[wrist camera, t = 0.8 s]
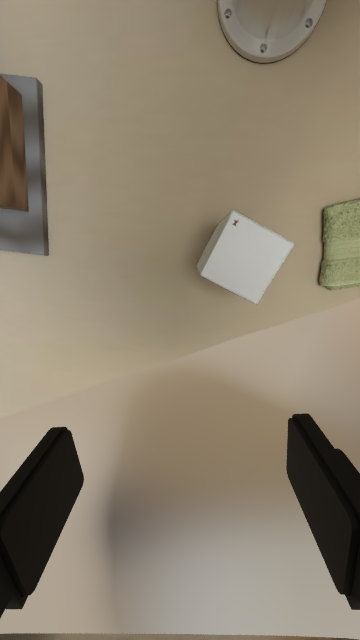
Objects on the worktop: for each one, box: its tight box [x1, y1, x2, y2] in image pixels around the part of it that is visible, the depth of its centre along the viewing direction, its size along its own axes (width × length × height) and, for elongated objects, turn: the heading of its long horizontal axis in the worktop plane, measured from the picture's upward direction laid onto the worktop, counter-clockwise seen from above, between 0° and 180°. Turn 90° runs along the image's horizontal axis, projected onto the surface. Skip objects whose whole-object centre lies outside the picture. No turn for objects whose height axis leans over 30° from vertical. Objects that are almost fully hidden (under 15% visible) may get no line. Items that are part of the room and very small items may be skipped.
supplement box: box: [196, 210, 294, 304], centre depth 30 cm, size 7×7×13 cm
